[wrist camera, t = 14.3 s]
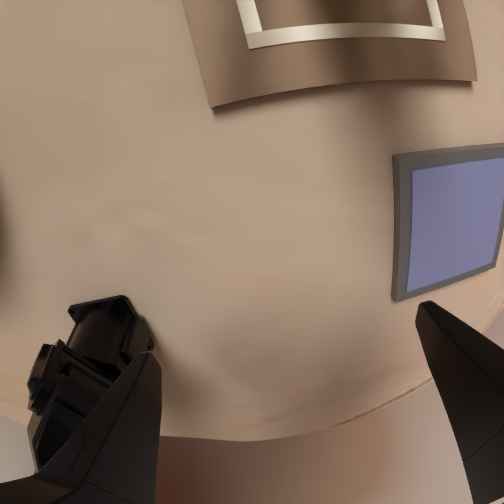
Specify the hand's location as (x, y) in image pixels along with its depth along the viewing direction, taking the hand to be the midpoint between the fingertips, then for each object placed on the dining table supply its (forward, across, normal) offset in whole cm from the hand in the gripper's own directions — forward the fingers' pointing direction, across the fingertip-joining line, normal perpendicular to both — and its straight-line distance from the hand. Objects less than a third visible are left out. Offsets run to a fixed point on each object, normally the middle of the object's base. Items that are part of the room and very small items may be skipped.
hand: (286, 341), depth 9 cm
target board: (+14, -8, -16) cm, 23 cm away
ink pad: (+14, -16, +6) cm, 22 cm away
